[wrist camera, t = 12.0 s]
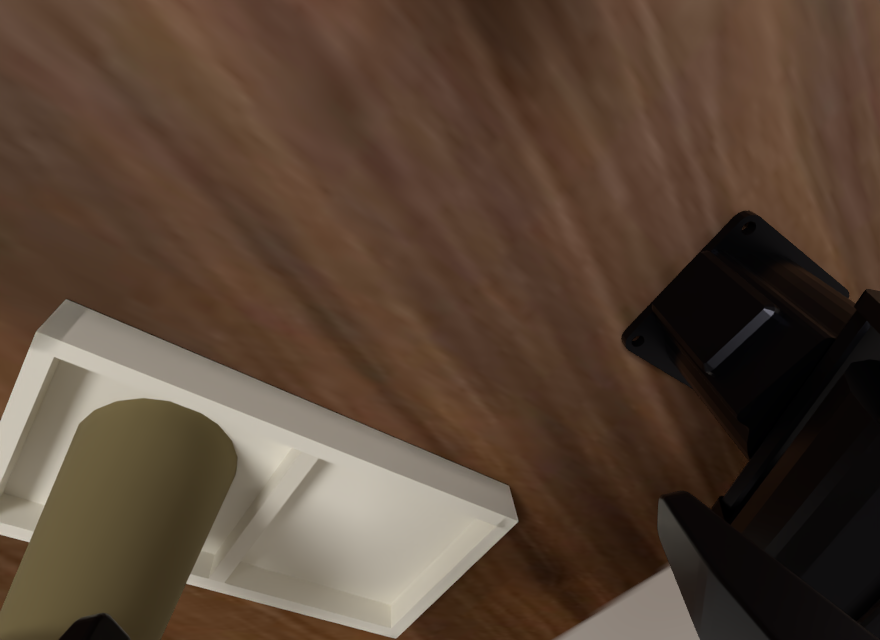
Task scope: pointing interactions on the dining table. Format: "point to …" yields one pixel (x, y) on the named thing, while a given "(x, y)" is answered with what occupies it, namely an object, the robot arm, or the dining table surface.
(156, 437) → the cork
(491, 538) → the tray
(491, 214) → the dining table surface
